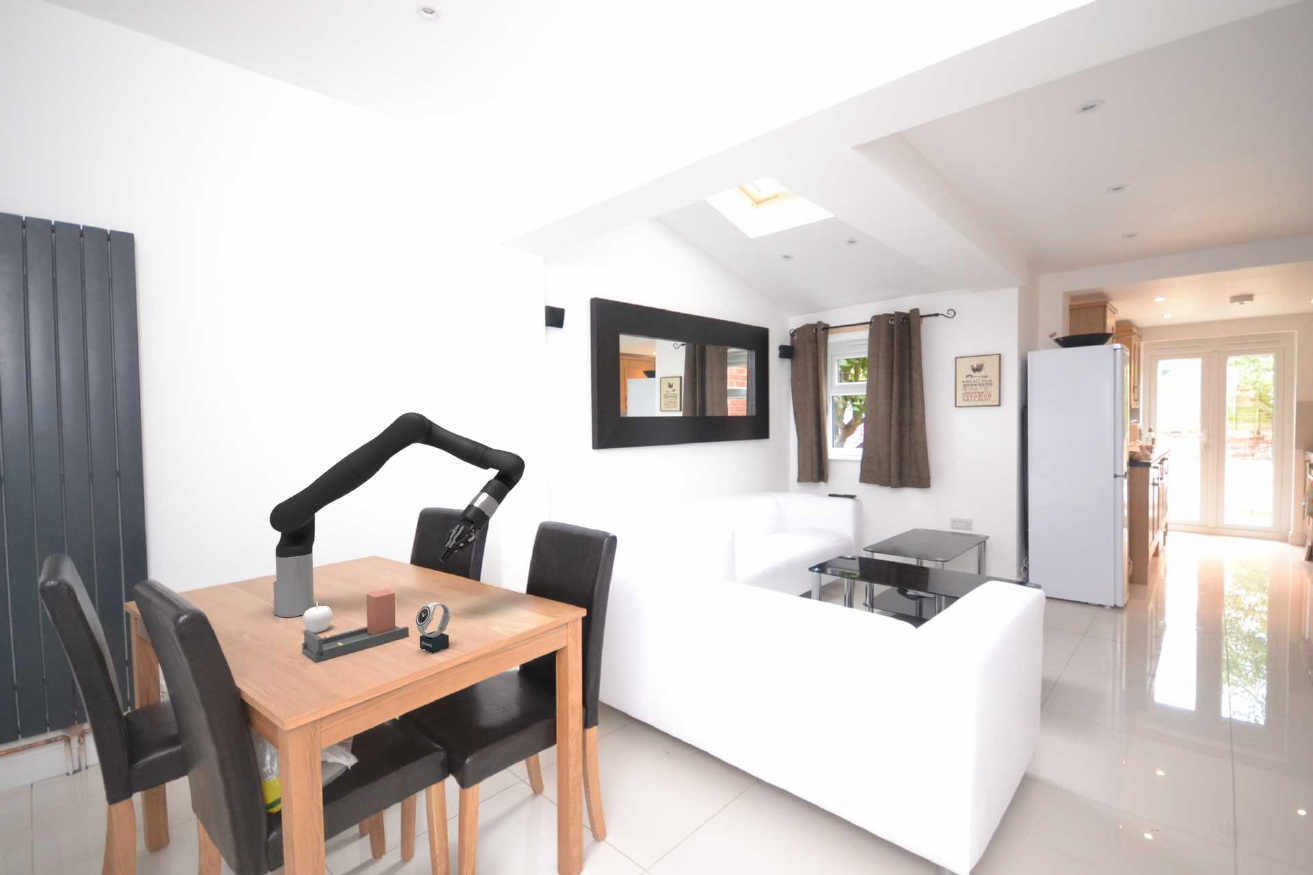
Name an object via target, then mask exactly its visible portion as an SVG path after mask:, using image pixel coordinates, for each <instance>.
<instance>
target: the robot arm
mask: <svg viewBox="0 0 1313 875" xmlns="http://www.w3.org/2000/svg"><path fill="white" fill-rule="evenodd" d="M413 444H421V445H425V446H429V447H433V448H436V449H439V450H441V451H444V452H446V453H447V454H449V455H451V456H453V457H455V458H457V459H459V460H460V461H463V462H465V463H467V464H469V465H471V466H474V467H476V468H479V469H482V470H484V471H486V470H490V469H492V470H496V471H497V473H496V474H495V475H494V476H493V478H492V479H489V480H488V481H487V482H486V483H485V484H484V485H483V487H481V489H480V491H479V492H478V493H477V494H476V495H475V496H474V497H473V498H472V499H471V501H470V502H469V503H468V504H467V506H466V507H465V508H464V509H463V511H462V512H461V514H460V515H459V519H460V521H459V523H458V524H457V525H456V526H455V527H454V528H453V529H451V528H449V529H447V530H446V533H445V538H444V542H443V545H445V547H444V550H442V551H441V553H440V555H439V556H438V560H439V561H440V562H441V563H445V564H446V563H447V562H448V561H449V559H450V558H452V556H453V555H454V553H457V551H458V552H462V551H463V550H464V549H466V548H467V547H469V546H470V545H472V544H473V543H474V542H476V540H477V537H476V536H475V534H476V533H477V532H481V531H483V529H484V528H485V526H486V525H487V524H488V522H489V521H490V520H491V519H492V517H493V516H494V514H495V513H496V511H497V510H498V508H499V506H500V505H501V504H502V502H504V499H506V497H507V495H508V494H509V493H510V492H511V491H512V490H513V489H514V488H515V486H516V485H518V484H519V482H520V481H521V479H522V478H523V476H524V472H525V469H526V463H525V460H524V459H523V458H522V457H521V456H520V455H518V453H517V454H516V453H515V452H511V451H507V450H504V449H497V448H492V447H491V446H488V445H486V444H484V443H481V442H478V441H476V440H474V439H472V438H468V437H465V436H462V435H459V434H457V433H454V432H452V431H450V430H448V429H446V428H444V427H442V426H440V425H439V424H437V423H435V422H434V421H432V420H431V419H429V418H428V417H426V416H425V415H423V414H421V413H419V412H414V411H411V412H409V411H408V412H406V413H403V414H401V415H400V416H398V417H397V418H395V420H394V421H393V422H392V423H390V424H389V425H388V426H387V427H386V428H385V429H384V430H382V431H381V432H380V433H379V434H378V435H376V436H375V437H374V438H372V439H371V440H369V441H367V442H366V443H364V444H363V445H361V446H359V447H358V448H356V449H355V450H353V451H352V452H350V453H349V454H347V455H346V456H344V457H342V458H341V459H340V460H339V461H337V462H336V463H335V464H333V465H332V466H331V467H330V468H329V469H327V470H326V471H325V472H323V473H322V474H321V475H320V476H318V477H317V478H316V479H315V480H314V481H313V482H311V483H310V484H309V485H308V486H306V487H305V488H304V489H302V490H301V491H299V492H297V493H296V494H294V495H291V496H290V497H289V498H287V499H285V500H283V501H281V502H279V503H278V504H276V505H275V506H274V507H273V509H272V510H271V512H270V515H269V524H270V527H271V528H272V529H273V530H275V531H277V532H279V533H280V537H279V541H278V543H277V545H276V546H275V573H276V574H275V575H276V578H275V580H276V581H274V582H273V610H274V612H273V614H274V615H276V616H278V617H280V618H292V617H293V618H294V617H300V616H299V615H301V616H303V615H304V613H305V611H307V610H308V609H310V608H313V607H315V606H314V605H315V603H314V602H315V601H314V600H315V595H314V594H315V592H314V591H315V590H314V587H315V586H314V564H313V563H314V556H313V555H314V554H313V550H314V549H313V548H314V543H315V538H316V514H317V513H318V512H319V511H320V510H322V509H323V508H325V507H326V506H328V505H330V504H331V503H333V502H336V501H337V500H339V499H341V498H343V497H345V496H346V495H349V494H350V493H352V492H353V491H355V490H356V489H358V488H360V487H361V486H362V485H364V484H365V483H366V482H368V481H369V480H371V478H373V477H374V476H375V475H376V474H377V473H378V472H379V471H380V470H381V469H382V468H383V467H384V465H385V464H386V463H387V462H388V461H389V460H390V459H391V458H392V457H394V456H395V455H396V454H398V453H399V452H401V451H402V450H404V449H406V448H407V447H409V446H412V445H413Z"/></svg>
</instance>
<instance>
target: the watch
mask: <svg viewBox="0 0 1313 875" xmlns="http://www.w3.org/2000/svg"><path fill="white" fill-rule="evenodd" d="M437 606H441V608H442V609H443V612H442V616H441V618H440V622H439V625H438V626H437V630H433V631H430V632H426V630H427V629H428V626H429V625H430V624H431V623H432V622H433V621H434V617H435V610H436V609H437ZM450 613H451V611H450V609H449V606H447V605H446V604H444V603H440V602H438V601H435V602H434V601H433V602H429V603H428V604H426V605H424V606H422V607H421V608H420V609H419V611H418V612H417V614H416V617H415V624H416V627H417V630H418V632H419V633H420V634H421V635H420V636H419V649H420V648H421V649H420V650H423V649H425V650H426V652H428V653H431V652H432V654H435V653H434V652H436V653H439V652H441V651H440V650H442V649H444V650H446V648H447V649H449V648H450V636H449V634H446V633H444V632H445V631H446V629H447V627H448V625H449V622H450V618H451V614H450ZM448 647H449V648H448ZM425 650H424V651H425ZM438 651H439V652H438ZM442 651H443V650H442Z"/></svg>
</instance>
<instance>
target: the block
mask: <svg viewBox="0 0 1313 875" xmlns="http://www.w3.org/2000/svg"><path fill="white" fill-rule="evenodd" d="M395 594H396V593H395V592H392V591H390V590H388V589H383V590H378V591H373V592H369V593H366V627H367V633H369V634H371V635H376V634H380V633H383V632H387V631H391V630H395V629H396V628H395V626H396V595H395Z"/></svg>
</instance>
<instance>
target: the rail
mask: <svg viewBox="0 0 1313 875" xmlns="http://www.w3.org/2000/svg"><path fill="white" fill-rule="evenodd" d="M395 628H396V629H395V630H391V631H387V632H383V633H380V634H376V635H371V634H369V633H367V626H365V627H360V628H357V629H353V630H348V631H344V632H340V633H336V634H333V635H329V634H327V635H324V637H321V636H319V635H317V633H313V632H311V631H309V630H307V629H306V630H303V641H304V642H301V653H302V654H303V655H304V656H305V657H307V658H309V659H310V660H312V662H314V663H320V662H323V661H328V660H330V659H334V658H337V657H342V656H345V655H348V654H353V653H356V652H358V651H363V650H366V649H369V648H372V647H373V648H374V647H378V646H380V645H383V644H387V643H390V642H395V641H397V640H401V639H405V638H409V637H410V634H409V633H410V630H409V628H410V627H409V626H408V625H407V626H402V627H399V626H397V625H395Z"/></svg>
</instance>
